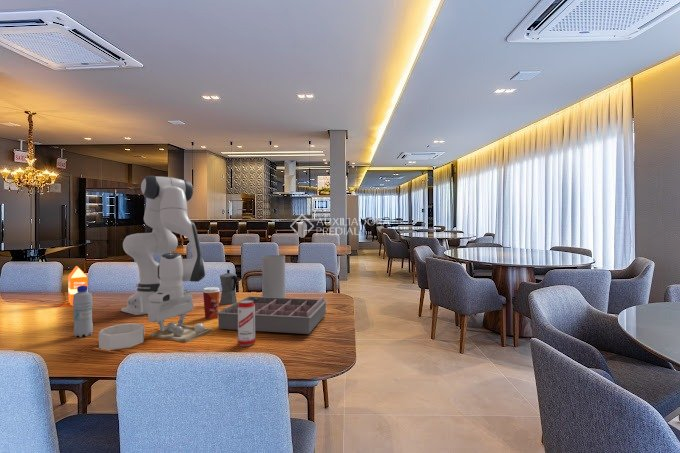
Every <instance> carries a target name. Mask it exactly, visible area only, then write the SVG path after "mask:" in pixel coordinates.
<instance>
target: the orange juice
mask: <svg viewBox="0 0 680 453" xmlns="http://www.w3.org/2000/svg"><path fill="white" fill-rule="evenodd" d="M67 277H68V278H67V279H68V283H67V284H68V286H67V288H68V303H70V304H69V305H70V306H71V305H72V306H73V303H72V302H73V296H74V294H76V293H78V292H77V287H79V286H82V285H84V286H87V289H88V288H89V287H88V276H87V275H86V273H84V271H83V270H82V269H81V268H80V267H79V266H78V265H76V266H75V267H74V268H73V269H72V270H71V272H70V273H69V275H68V276H67ZM87 291H88V292H89V290H87Z"/></svg>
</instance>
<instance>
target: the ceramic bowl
mask: <svg viewBox="0 0 680 453" xmlns="http://www.w3.org/2000/svg"><path fill="white" fill-rule="evenodd" d="M144 340H145V324H143V323H135V322H133V323H132V322H131V323H124V324H123V323H121V324H115V325H112V326H107V327H105V328H102V329H101V330H100V331H99V332H98V349H99V348H101V349H100V350H102V349H106V350H105V351H107V350H119V349H121V350H122V349H128V348H132V347H135V346H137V345H139V344H142V343H144Z"/></svg>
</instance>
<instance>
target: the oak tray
mask: <svg viewBox="0 0 680 453" xmlns="http://www.w3.org/2000/svg"><path fill="white" fill-rule="evenodd" d="M176 325H177V326H181V327H182V328H183V329H184V333H183V334H182V335H181V336H179V337H176V336H174V335H173V332H168V331H167V330H165V331H160V330H158V331H154V332H151V333H150V337H151V338H157V339H158V338H159V339H163V340H168V341H169V340H170V341H176V342H180V343H181V342H183V343H189V342H191V341H193V340H195V339H198V338H200V337H202V336H205V335H207V334H210V333H213V328H209V327H208V328H207V327H205V330H204V332H202V333H199V334H198V333H196V332H195V331H194V327H195V325H193V326H192V325H187V324H182V325H178V324H176Z"/></svg>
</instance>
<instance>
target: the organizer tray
mask: <svg viewBox="0 0 680 453" xmlns="http://www.w3.org/2000/svg"><path fill="white" fill-rule="evenodd" d="M242 300H253V303H254V304H255V332H267V333H269V332H270V333H271V332H272V333H283V334H285V333H286V334H287V333H288V334H303V335H309V334H310V333H311V332H312V331H313V330H314V328H315V327H316V326H317V325H318V324H319V323H320V321H322V319H323V318H324V317H325V315H326V314H327V309H326V308H327V306H326V305H327V302H328V299H325V296H324V295H323V296H322V297H321V298H320V299H318V298H317V299H316V298H315V299H314V298H295V297H285V298H274V297H262V296H247V297H245V298H243V299H242ZM238 305H239V301H237V302H236V303H234V304H230V306H227V307H225V308H224V309H221V310H218V312H217V313H216V314H218V318H217V319H218V320H217V321H218V324H217V325H218V329H221V330H236V331H238Z"/></svg>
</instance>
